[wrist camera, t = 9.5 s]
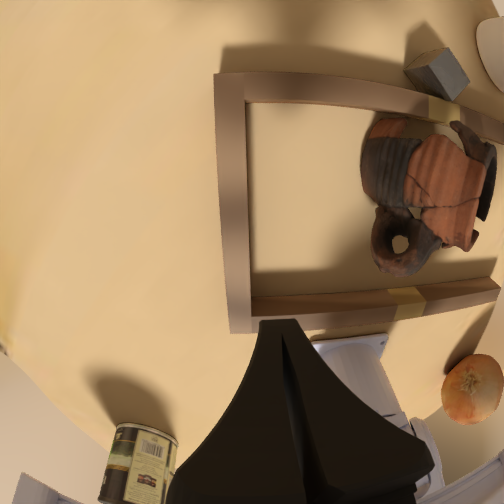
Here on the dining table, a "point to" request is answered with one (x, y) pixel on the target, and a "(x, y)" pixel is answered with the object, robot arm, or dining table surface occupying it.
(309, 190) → the dining table surface
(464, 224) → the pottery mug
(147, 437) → the coffee can
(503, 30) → the pill bottle
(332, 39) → the dining table surface
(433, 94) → the block
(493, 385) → the onion
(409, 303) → the walnut slot beam
